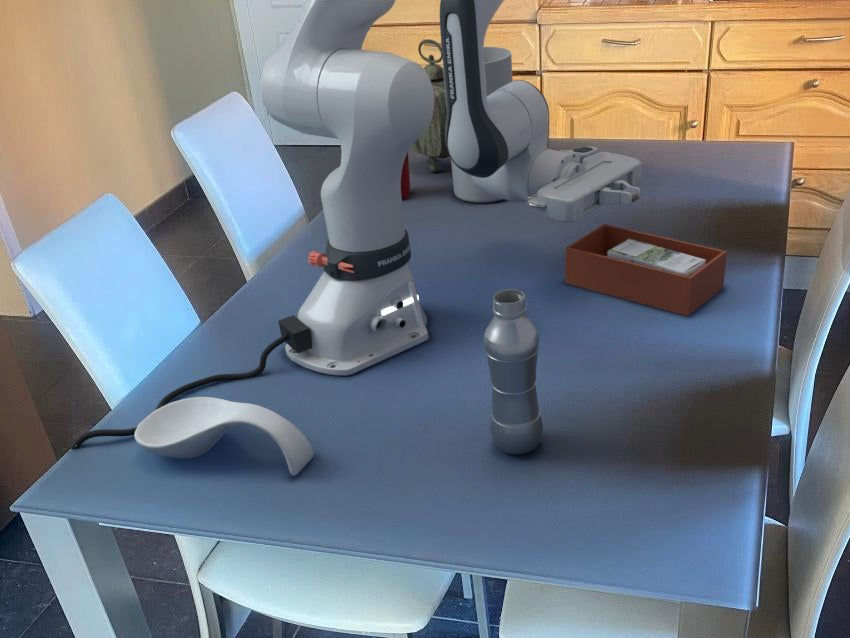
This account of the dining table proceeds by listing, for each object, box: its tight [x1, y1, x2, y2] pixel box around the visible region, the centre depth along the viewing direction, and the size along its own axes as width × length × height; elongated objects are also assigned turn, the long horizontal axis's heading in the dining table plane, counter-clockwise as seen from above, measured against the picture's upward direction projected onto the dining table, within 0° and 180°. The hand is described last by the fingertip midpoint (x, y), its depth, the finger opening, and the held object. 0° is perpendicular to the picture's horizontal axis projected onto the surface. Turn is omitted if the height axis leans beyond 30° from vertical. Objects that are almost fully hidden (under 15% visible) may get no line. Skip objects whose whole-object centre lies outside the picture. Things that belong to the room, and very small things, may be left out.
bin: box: [564, 223, 728, 317], centre depth 145 cm, size 22×11×6 cm, turn 51°
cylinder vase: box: [441, 46, 514, 204], centre depth 176 cm, size 12×12×25 cm
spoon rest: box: [133, 396, 315, 476], centre depth 117 cm, size 24×12×7 cm, turn 68°
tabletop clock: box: [409, 38, 450, 174], centre depth 188 cm, size 14×9×25 cm, turn 45°
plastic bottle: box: [483, 288, 544, 455], centre depth 109 cm, size 6×7×20 cm
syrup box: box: [607, 239, 706, 277], centre depth 143 cm, size 6×6×14 cm
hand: (635, 196), depth 139 cm, fingers closed
